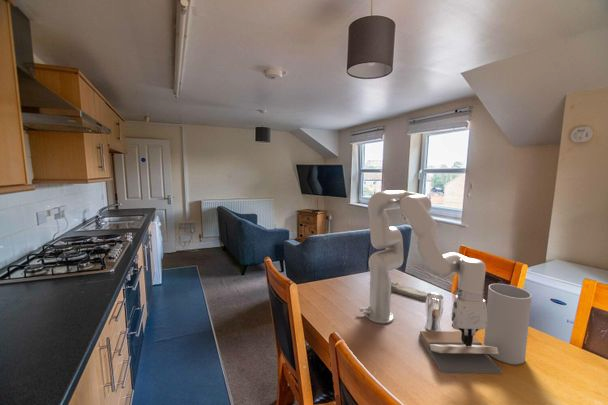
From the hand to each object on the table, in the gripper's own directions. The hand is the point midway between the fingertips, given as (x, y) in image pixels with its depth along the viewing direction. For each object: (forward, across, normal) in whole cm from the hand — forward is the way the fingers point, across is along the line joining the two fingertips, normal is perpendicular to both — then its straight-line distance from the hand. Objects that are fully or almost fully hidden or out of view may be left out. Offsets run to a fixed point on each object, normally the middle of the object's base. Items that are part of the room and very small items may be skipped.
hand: (466, 343), depth 93 cm
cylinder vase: (+8, +18, +6) cm, 21 cm away
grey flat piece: (+8, 0, +6) cm, 10 cm away
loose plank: (+4, 0, +1) cm, 4 cm away
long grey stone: (+8, -3, +59) cm, 60 cm away
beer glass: (+8, -1, +22) cm, 24 cm away
